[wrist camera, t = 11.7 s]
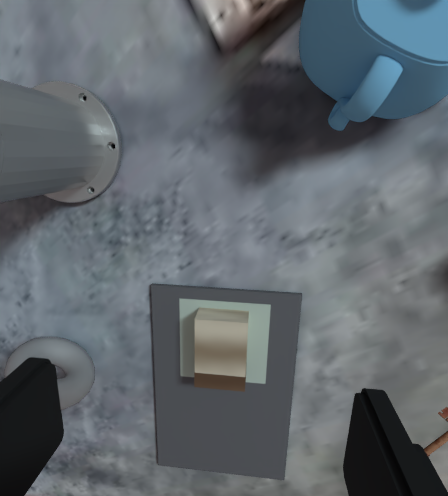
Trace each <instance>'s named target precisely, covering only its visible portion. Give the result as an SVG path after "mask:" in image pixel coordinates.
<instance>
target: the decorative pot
mask: <svg viewBox="0 0 448 496" xmlns="http://www.w3.org/2000/svg"><path fill="white" fill-rule="evenodd" d="M299 52H300V59H301V62H302V66H303V68H304V70H305V72H306V74H307V76H308V77H309V79H310V80H311V81H312V82H313V84H315V85H316V86H317V87H318V88H319V89H321V90H322V91H323V92H324V93H326V94H327V95H329V96H330V97H332V98H333V99H335V100H336V101H337V103H336V104H335V106H334V107H333V109H332V111H331V113H330V115H329V118H328V123H329V125H330V126H331V127H332V128H333V129H335V130H338V131H342V130H344V128H345V127H346V125H347V123H348V122H349V120H352V121H354V122H364V121H366V120H367V119H369V118H370V117H371V116H375V117H379V118H384V119H400V118H406V117H409V116H412V115H415V114H417V113H420V112H422V111H424V110H426V109H427V108H429V107H431V106H433V105H434V104H436V103H437V102H439V101H440V100H441V99H442V98H444V97H445V96H446V95H448V0H306V1H305V4H304V9H303V13H302V18H301V25H300V32H299Z"/></svg>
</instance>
